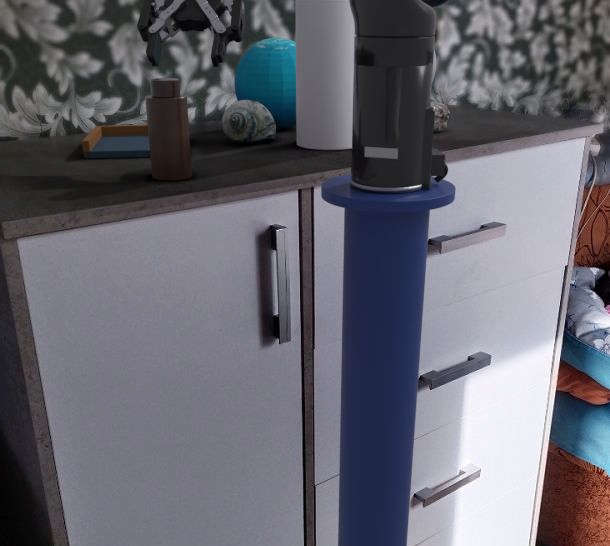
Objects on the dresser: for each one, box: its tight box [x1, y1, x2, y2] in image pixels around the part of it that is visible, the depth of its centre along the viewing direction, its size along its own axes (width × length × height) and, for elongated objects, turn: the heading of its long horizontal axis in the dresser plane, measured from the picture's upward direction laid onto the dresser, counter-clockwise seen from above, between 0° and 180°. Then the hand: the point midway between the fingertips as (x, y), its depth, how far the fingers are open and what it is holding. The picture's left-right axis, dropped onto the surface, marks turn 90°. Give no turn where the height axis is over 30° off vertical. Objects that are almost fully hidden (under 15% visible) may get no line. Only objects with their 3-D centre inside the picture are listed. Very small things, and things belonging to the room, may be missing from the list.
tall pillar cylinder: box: [294, 0, 356, 151], centre depth 117 cm, size 11×11×25 cm
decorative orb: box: [233, 37, 296, 130], centre depth 134 cm, size 15×15×15 cm
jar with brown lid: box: [144, 77, 193, 182], centre depth 98 cm, size 5×5×12 cm
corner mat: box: [81, 124, 151, 159], centre depth 119 cm, size 15×15×2 cm
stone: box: [431, 101, 451, 133], centre depth 133 cm, size 13×6×10 cm
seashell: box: [221, 100, 277, 145], centre depth 123 cm, size 6×8×12 cm
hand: (184, 62), depth 102 cm, fingers open, 8 cm apart
